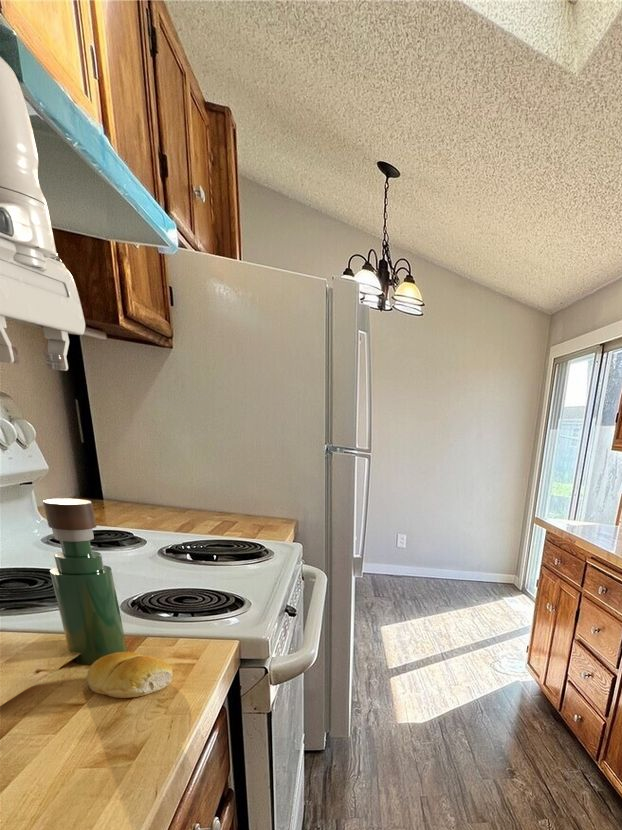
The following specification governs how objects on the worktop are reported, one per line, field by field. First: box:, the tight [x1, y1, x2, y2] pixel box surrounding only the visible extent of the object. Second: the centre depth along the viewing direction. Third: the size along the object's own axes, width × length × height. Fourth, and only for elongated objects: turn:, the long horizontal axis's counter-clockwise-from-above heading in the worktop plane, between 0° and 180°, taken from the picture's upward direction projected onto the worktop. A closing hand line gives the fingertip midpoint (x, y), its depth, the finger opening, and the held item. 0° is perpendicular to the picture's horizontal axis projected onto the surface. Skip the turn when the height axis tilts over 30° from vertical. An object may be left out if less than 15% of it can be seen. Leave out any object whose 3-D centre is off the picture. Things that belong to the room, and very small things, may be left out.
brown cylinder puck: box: [42, 498, 98, 530], centre depth 69 cm, size 5×5×3 cm
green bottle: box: [49, 528, 128, 665], centre depth 73 cm, size 6×6×18 cm
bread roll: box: [86, 651, 173, 699], centre depth 69 cm, size 8×9×4 cm
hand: (34, 366), depth 68 cm, fingers open, 8 cm apart
